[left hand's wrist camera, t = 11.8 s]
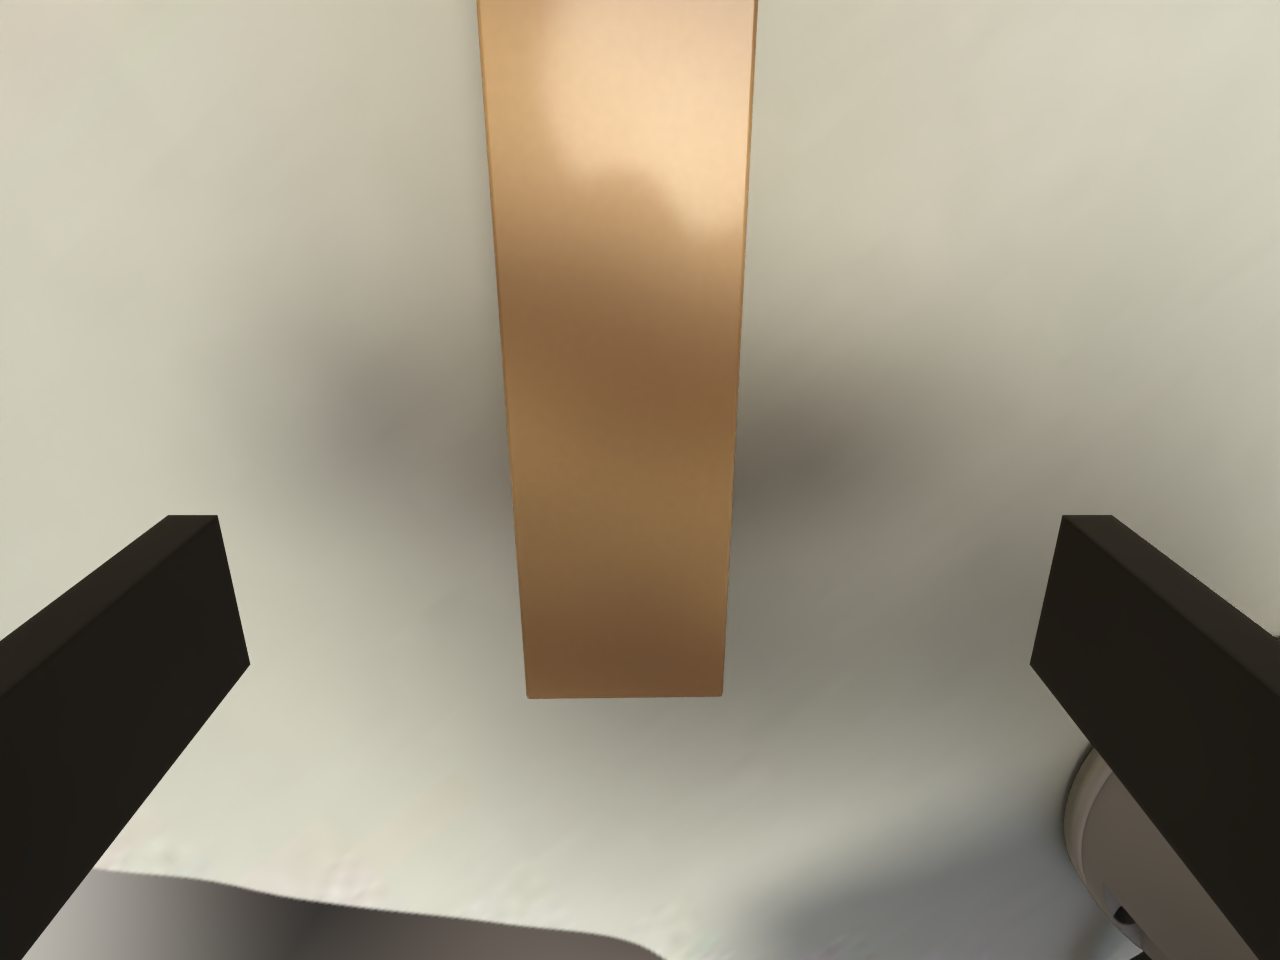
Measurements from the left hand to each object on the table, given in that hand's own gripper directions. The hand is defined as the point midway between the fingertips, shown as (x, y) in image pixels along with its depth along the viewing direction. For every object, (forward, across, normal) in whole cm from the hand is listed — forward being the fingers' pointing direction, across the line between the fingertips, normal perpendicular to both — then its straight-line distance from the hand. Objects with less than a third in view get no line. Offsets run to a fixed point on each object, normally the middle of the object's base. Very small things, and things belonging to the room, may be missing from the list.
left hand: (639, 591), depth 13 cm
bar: (+12, 0, -34) cm, 37 cm away
